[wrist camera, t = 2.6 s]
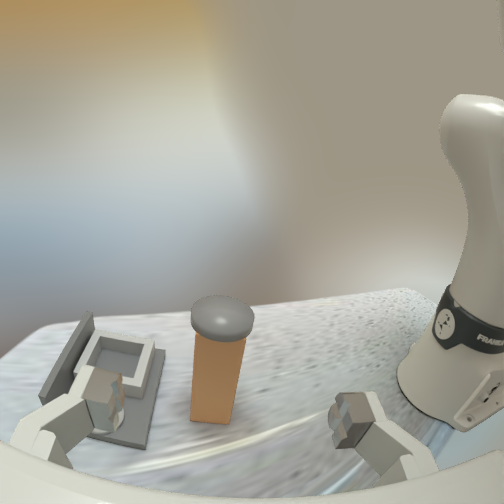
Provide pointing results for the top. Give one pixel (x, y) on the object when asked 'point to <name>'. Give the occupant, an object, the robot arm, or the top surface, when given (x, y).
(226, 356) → the grey-capped orange post
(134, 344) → the housing
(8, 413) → the top surface
